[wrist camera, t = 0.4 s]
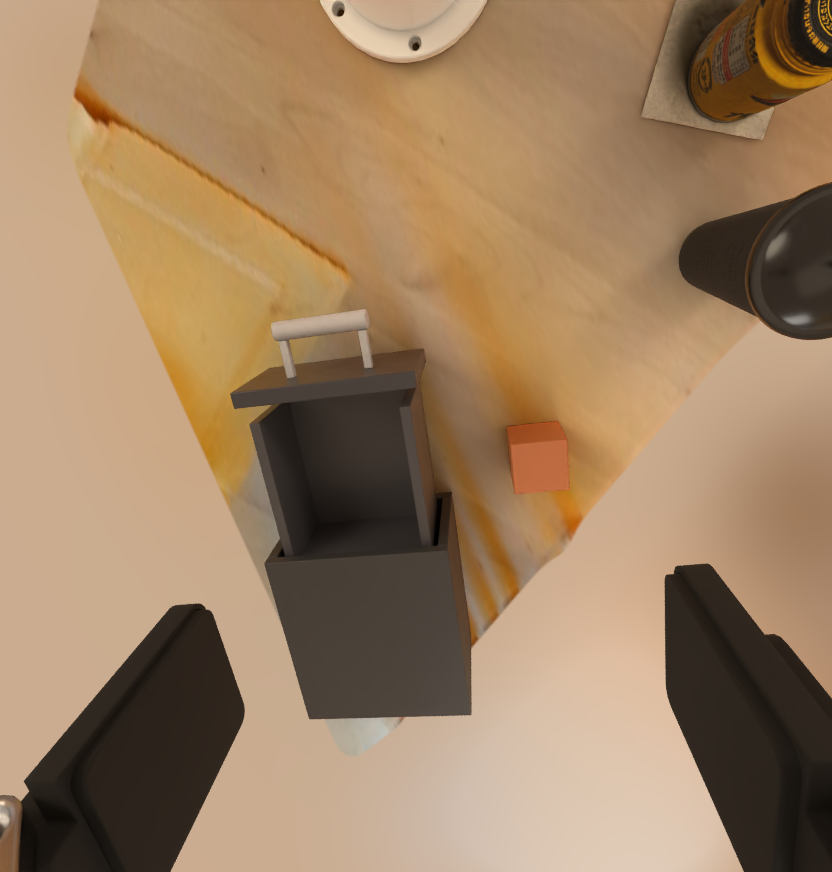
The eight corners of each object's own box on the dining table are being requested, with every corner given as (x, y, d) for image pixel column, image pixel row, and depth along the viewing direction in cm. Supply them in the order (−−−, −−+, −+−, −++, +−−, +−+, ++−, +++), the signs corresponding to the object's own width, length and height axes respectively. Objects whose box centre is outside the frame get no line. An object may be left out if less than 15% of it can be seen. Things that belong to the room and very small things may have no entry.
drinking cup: (636, 259, 39) (789, 277, 20) (723, 175, 37) (987, 109, 18) (701, 328, 40) (899, 405, 22) (789, 251, 38) (1097, 265, 19)
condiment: (760, 140, 36) (893, 95, 24) (640, 117, 36) (716, 62, 25) (809, 12, 33) (983, -104, 22) (678, -12, 33) (784, -139, 22)
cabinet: (300, 505, 50) (263, 563, 41) (451, 492, 48) (447, 550, 39) (334, 641, 55) (309, 719, 46) (471, 635, 53) (471, 715, 44)
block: (506, 425, 45) (510, 444, 41) (558, 420, 44) (567, 439, 40) (510, 471, 46) (514, 494, 42) (560, 467, 46) (569, 489, 42)
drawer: (256, 318, 43) (213, 334, 35) (416, 295, 41) (405, 308, 33) (308, 525, 49) (280, 575, 42) (447, 514, 47) (443, 564, 40)
